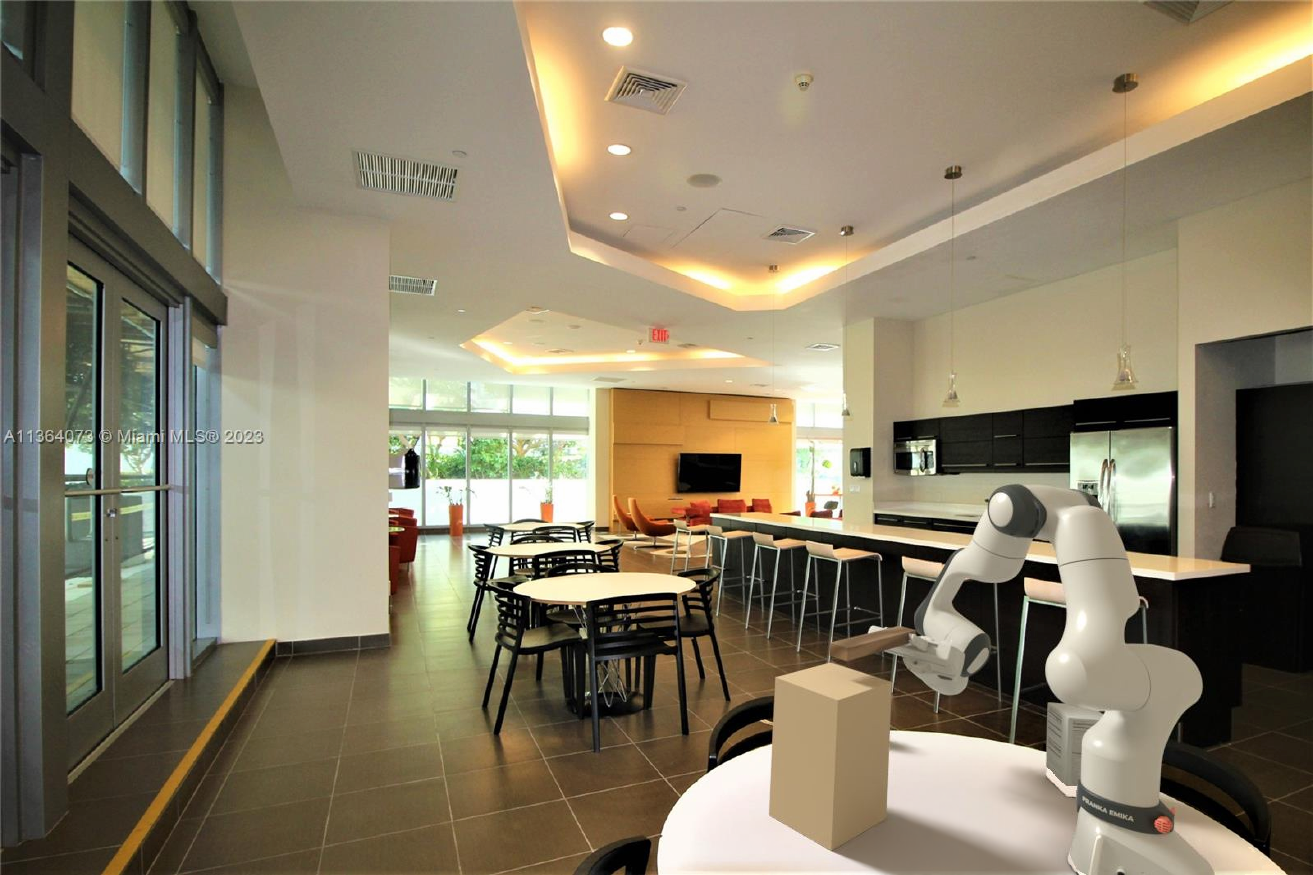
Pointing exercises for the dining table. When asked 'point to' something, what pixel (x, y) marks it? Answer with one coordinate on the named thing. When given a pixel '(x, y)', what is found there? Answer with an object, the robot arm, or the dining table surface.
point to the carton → (830, 752)
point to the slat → (869, 643)
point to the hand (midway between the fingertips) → (898, 633)
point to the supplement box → (1067, 739)
